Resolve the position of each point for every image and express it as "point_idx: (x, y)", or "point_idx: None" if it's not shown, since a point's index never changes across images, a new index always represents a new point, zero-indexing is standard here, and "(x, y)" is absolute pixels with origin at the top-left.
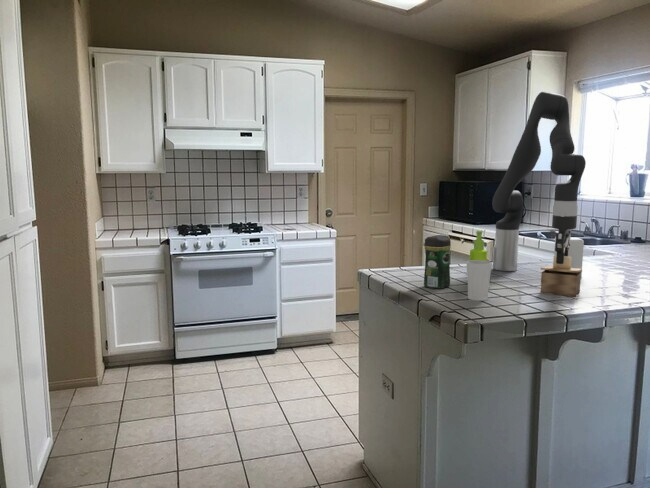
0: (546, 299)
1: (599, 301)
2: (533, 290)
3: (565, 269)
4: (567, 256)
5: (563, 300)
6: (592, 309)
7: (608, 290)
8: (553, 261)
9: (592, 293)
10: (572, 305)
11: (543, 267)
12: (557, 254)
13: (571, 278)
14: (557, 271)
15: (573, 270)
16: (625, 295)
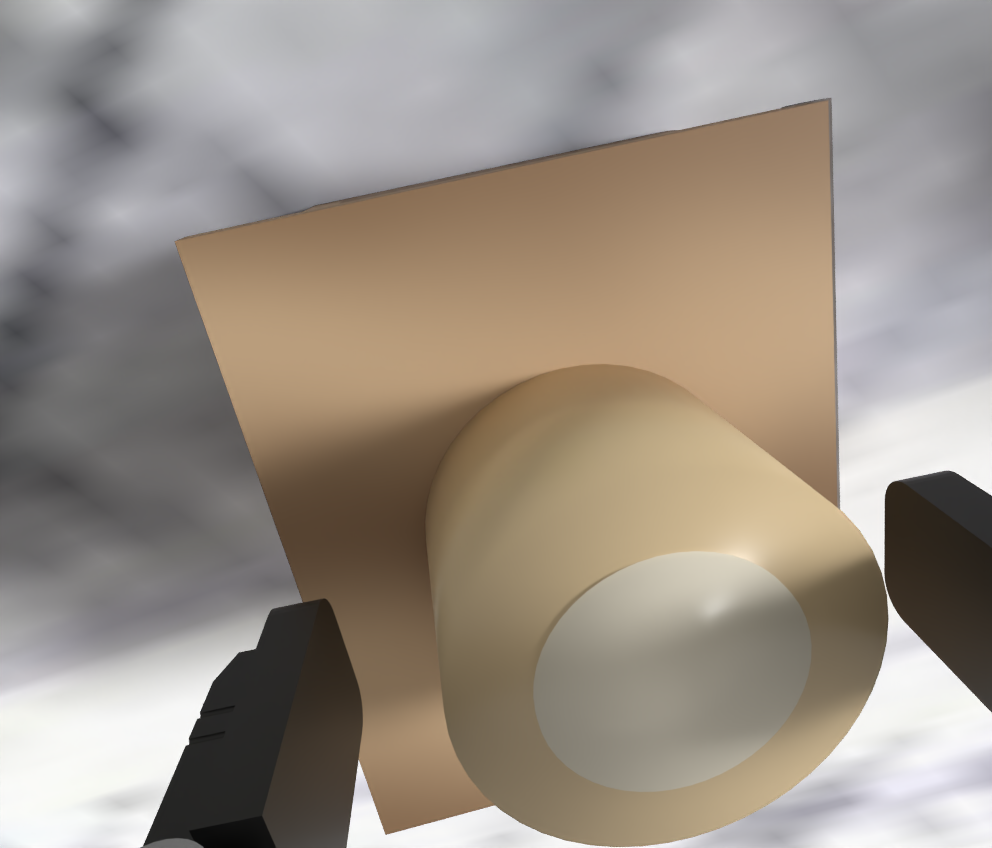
0: (30, 409)
1: None
2: (395, 58)
3: (422, 646)
4: (858, 704)
5: (151, 549)
6: (35, 822)
7: (948, 667)
8: (530, 443)
9: None
10: (19, 678)
11: (316, 254)
12: (222, 797)
13: None
14: None
15: (404, 768)
16: (798, 813)
